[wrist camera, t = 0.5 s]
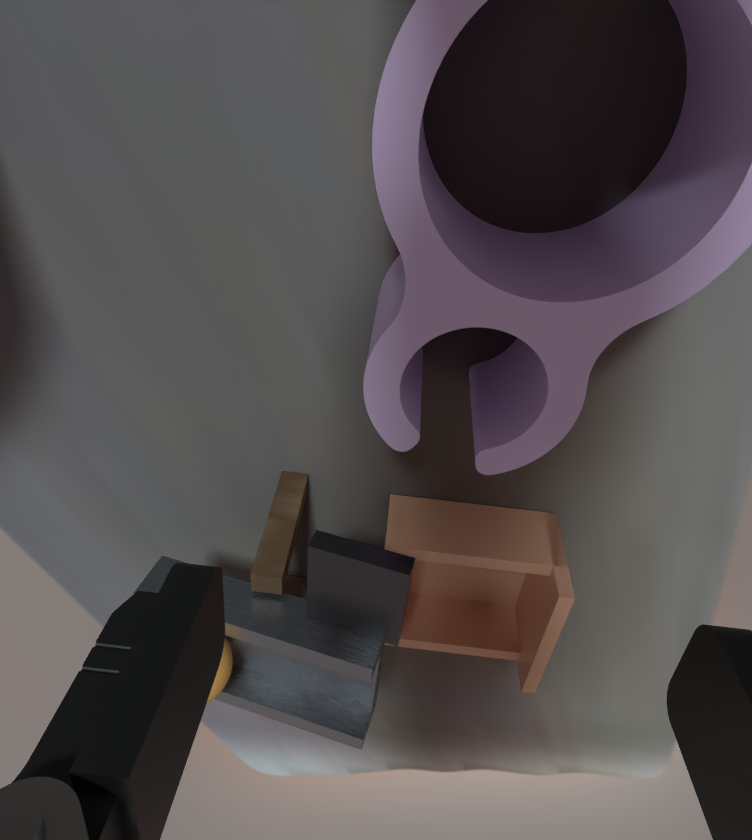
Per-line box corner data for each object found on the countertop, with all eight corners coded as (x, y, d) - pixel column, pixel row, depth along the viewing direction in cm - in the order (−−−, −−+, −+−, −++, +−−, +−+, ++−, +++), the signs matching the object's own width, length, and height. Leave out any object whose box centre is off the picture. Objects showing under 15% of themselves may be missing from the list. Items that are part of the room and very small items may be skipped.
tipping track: (177, 639, 36) (147, 685, 34) (149, 483, 29) (109, 527, 27) (388, 709, 34) (372, 764, 32) (415, 558, 27) (397, 613, 24)
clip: (556, 407, 32) (581, 501, 26) (319, 339, 31) (293, 422, 25) (827, -74, 20) (975, -87, 15) (464, -214, 19) (474, -286, 14)
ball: (169, 597, 32) (126, 666, 29) (243, 616, 31) (208, 688, 28) (177, 644, 34) (139, 712, 31) (246, 662, 34) (214, 734, 31)
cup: (377, 590, 41) (369, 673, 36) (390, 494, 36) (382, 576, 31) (523, 607, 41) (535, 693, 36) (556, 513, 36) (575, 598, 31)
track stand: (283, 587, 42) (256, 692, 36) (282, 471, 36) (250, 574, 30) (305, 589, 42) (283, 695, 36) (308, 474, 36) (281, 578, 30)
